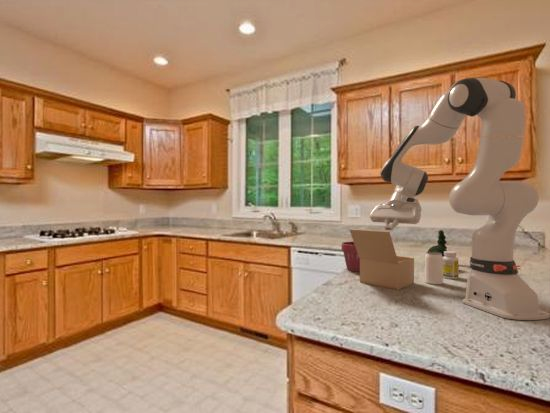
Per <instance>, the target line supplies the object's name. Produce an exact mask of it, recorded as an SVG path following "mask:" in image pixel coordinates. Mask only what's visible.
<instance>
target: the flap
mask: <svg viewBox="0 0 550 413" xmlns="http://www.w3.org/2000/svg"><path fill="white" fill-rule="evenodd" d="M349 232H350V233H349V234H350V236H351V239H352V242H354V244H355V247H356V250H357V253H358V256H359V258H361V259H369V260H376V261H383V262H390V263H397V264H398V260H397V256H398V255H397V253H396V250H395V246H394V242H393V238H392V235H391V233H390V230H380V229H379V230H378V229H377V230H376V229H362V228H349Z"/></svg>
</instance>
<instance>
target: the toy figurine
mask: <svg viewBox="0 0 550 413" xmlns="http://www.w3.org/2000/svg"><path fill="white" fill-rule="evenodd" d="M446 238H447V237H446V235H445V232H444V231H443V230H442V229H440V230H438V236H437V241H436V243H437V245H433V246H431V247H429V249H428V250H427V252H438V253H442V257H444V256H445V255H444V251H448V250H447V248H448V247H447V245H446V244H447V243H448V242H447V241H446Z"/></svg>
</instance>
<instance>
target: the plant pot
mask: <svg viewBox="0 0 550 413" xmlns="http://www.w3.org/2000/svg"><path fill="white" fill-rule="evenodd" d="M341 252H343V256H344V262H345V264H346V266H345V267H346V270H347V269H348V271H350V272H360V258H359V256H358V253H357V250H356V247H355V244H354V241H345V242H342V243H341Z"/></svg>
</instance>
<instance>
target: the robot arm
mask: <svg viewBox="0 0 550 413" xmlns="http://www.w3.org/2000/svg"><path fill="white" fill-rule="evenodd" d="M516 96H517V94H516V90H515V87H514V86H513V85H512V84H511V83H508V82H507V81H505V80H495V79H491V78H487V77H485V78H484V77H480V78H478V77H476V78H474V77H466V78H462V79H460V80H457V81H456V82H455V83H453V84H452V85H451V87H450V89H449V90H447V91H445V92H444V93H443V94H442V95H441V96H440V98H439V99H438V100H437V102H436V104H435V105H434V107H433V108H432V110H431V112H430V113H429V116H428V117H427V118H426V120H425V121H424V122H423V123H421V124H420V125H415V126H414V127H413V128H411V129H410V131H409V132H408V133H407V135H405V137H404V138H403V139H402V141H400V142H401V143H400V144H399V145H398V147H397V148H396V149H395V151H394V152H393V154H392V155H391V156H390V157H389V158H388V160H386V162H385V163H384V164H383V166H382V167H381V170H380V177H381V178H382V180H383V181H384V182H387V183H389V184H393V185H395V188H394V191H393V193H392V194H391V196H390V198H389V200H388V202H387V203H386V204H385V203H384V204H382V203H379V204H378V205H376V206H375V207H374V208H373V210H372V211H371V212H370V214H369V217H370V220H371V222H372V223H382V224H383V223H385V225H384V229H385V230H384V231H393V230H394V229H395V227H397V226H398V225H399V224H406V225H408V224H409V225H417V224H419V223H420V221H421V217H422V214H421V213H422V206H421V204H420V202H419V199H417V198H415V197H417V196H419V195H420V194H422V193H423V192H424V189H425V187H426V184H427V182H428V180H429V176H428V173H427V171H426V170H423V169H421V168H420V167H419V168H418V167H416V166H413V165H410V164H408V163H405V162H403V161H402V159H403V158H404V156H405V155H406V154H407V152H409V150H410V149H411V148H412V147H414V146H419V145H421V146H422V145H430V146H431V145H432V146H433V145H435V146H436V145H437V146H438V145H441V144H445V143H447V142H449V141H450V140H452V138H453V137H454V136H455V135H456V133H457V132H458V130H459V129H460V127H461V125H462V124H463V122H464V120H465V118H466V117H468V116H469V117H475V116H477V117H478V118H479V119H480V122H481V129H480V135H479V136H480V137H479V141H478V150H477V153H476V154H477V155H476V158H475V161H474V164H473V167H472V168H471V170H470V171H469V172H468V174H467V175H466V176H465V177H464V178H463V180H461V181H459V182H458V183H456V184H455V185H454V186H453V187H452V189H451V190H450V192H449V195H448V197H449V198H448V201H449V204H450V206H451V208H452V210H453V211H454V212H456V213H458V214H462V215H467V216H488V218H487V220H486V222H485V224H484V225H483V226H481V227H479V228H477V229H476V230H475V231H474V232H473V233H472V235H471V257H470V259H469V268H470V269H471V270H470V272H469V275H468V276H467V282H466V289H465V298H463V299H462V304H464V305H467V306H470V307H473V308H476V309H479V310H480V311H484V312H487V313H490V314H493V315H495V316H498V317H501V318H503V319H509V320H519V321H521V320H522V321H534V320H535V321H537V320H538V321H539V320H546V319H549V318H550V313H549V312H547V311H545V310H544V309H541V308H540V302H539V297H538V294H537V292H536V291H534V289H532V288H531V286H530V285H529V284H528V283H527V282H526V281H525V280H524V279H523V278H522V277H521V275H519V270H521V268H519V267H522V265H517V264H516V261H515V260H514V250H515V249H514V248H515V246H514V245H515V237H516V233H517V230H518V228H519V226H520V224H521V223H522V221H523V220H524V218H525V217H526V216H527V215H528V214H530V213H531V212H533V211H534V210H536V207H537V206H538V205H539V204H538V203H539V199H540V197H539V193H538V190H537V189H536V188H535V186H533V184H530V183H525V182H521V181H514V180H501V178H502V177H503V175H504V174H505V173H506V172H507V171H509V170H510V169H512V168H514V167H516V166H518V164H519V162H520V161H521V157H522V150H523V146H524V144H523V143H524V137H525V130H526V110H525V105H524V103H523V102H522V101H521V100H520V99H516ZM500 180H501V181H500Z"/></svg>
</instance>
